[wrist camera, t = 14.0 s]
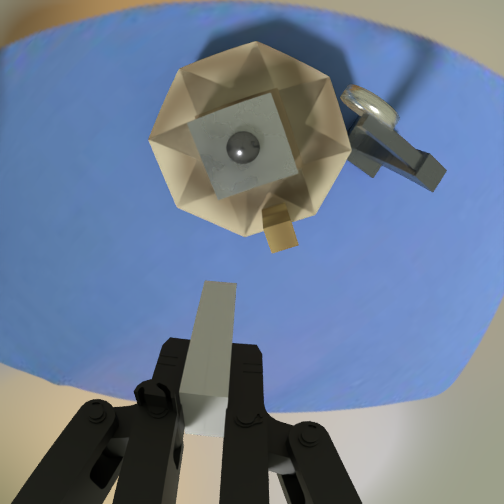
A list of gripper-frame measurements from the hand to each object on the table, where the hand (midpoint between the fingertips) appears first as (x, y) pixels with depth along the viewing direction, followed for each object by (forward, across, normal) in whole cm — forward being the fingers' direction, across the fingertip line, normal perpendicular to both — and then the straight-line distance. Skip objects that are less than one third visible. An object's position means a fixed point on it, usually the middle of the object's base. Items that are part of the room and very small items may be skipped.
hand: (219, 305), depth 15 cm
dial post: (+20, +11, +8) cm, 24 cm away
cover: (+16, 0, +6) cm, 18 cm away
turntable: (+18, +1, +6) cm, 19 cm away
